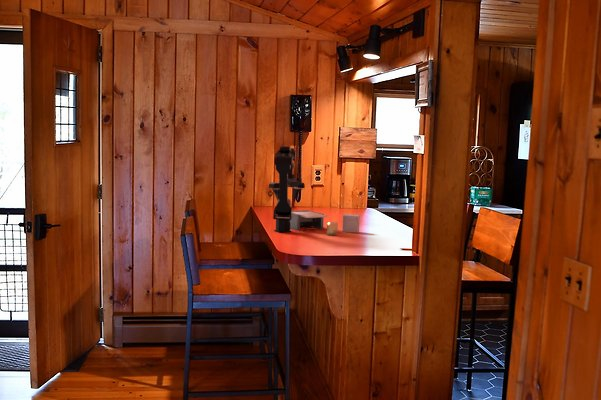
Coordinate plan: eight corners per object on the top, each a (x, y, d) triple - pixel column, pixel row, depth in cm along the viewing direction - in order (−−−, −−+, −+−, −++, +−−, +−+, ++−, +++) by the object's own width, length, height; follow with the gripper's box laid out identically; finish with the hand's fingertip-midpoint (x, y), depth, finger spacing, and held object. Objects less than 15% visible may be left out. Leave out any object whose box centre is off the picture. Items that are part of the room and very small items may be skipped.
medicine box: (359, 232, 337) (359, 215, 336) (357, 233, 333) (358, 216, 332) (343, 230, 339) (344, 214, 338) (342, 232, 335) (342, 215, 334)
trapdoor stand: (297, 230, 334) (297, 214, 333) (282, 226, 347) (282, 211, 346) (323, 228, 342) (323, 213, 342) (307, 224, 355) (308, 210, 354)
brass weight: (331, 235, 320) (331, 223, 320) (324, 234, 324) (325, 222, 324) (339, 235, 323) (339, 223, 323) (332, 234, 327) (333, 221, 327)
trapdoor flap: (306, 225, 330) (306, 215, 329) (288, 221, 344) (288, 211, 344) (327, 224, 336) (327, 215, 336) (308, 220, 351) (309, 210, 350)
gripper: (279, 173, 331) (278, 204, 333) (311, 173, 341) (309, 203, 342) (268, 171, 340) (267, 201, 342) (299, 171, 350) (298, 200, 352)
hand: (286, 201), depth 344 cm, fingers open, 9 cm apart
